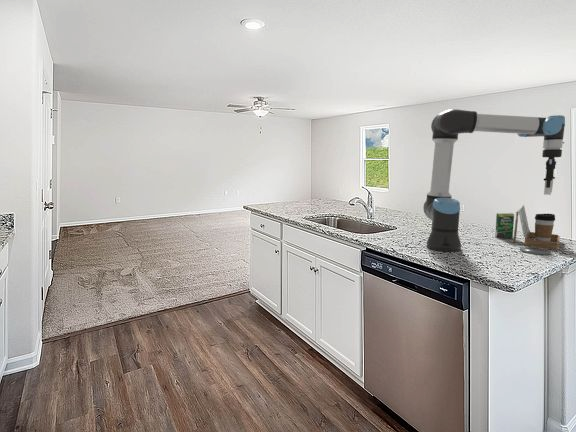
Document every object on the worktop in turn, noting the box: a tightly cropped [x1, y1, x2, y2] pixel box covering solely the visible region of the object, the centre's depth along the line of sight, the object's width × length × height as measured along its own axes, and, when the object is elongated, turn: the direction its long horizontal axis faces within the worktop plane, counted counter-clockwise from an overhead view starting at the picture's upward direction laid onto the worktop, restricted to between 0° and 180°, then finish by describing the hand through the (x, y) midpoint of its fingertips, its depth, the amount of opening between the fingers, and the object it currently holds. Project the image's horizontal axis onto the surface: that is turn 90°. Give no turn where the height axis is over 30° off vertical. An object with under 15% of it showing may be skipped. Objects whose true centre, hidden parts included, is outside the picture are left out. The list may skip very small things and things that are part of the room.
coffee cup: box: [534, 213, 556, 242], centre depth 182 cm, size 8×8×15 cm
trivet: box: [519, 246, 552, 256], centre depth 169 cm, size 12×12×1 cm
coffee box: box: [494, 212, 515, 239], centre depth 197 cm, size 8×3×13 cm, turn 77°
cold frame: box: [512, 204, 561, 251], centre depth 184 cm, size 22×19×18 cm
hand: (548, 193), depth 179 cm, fingers open, 13 cm apart
